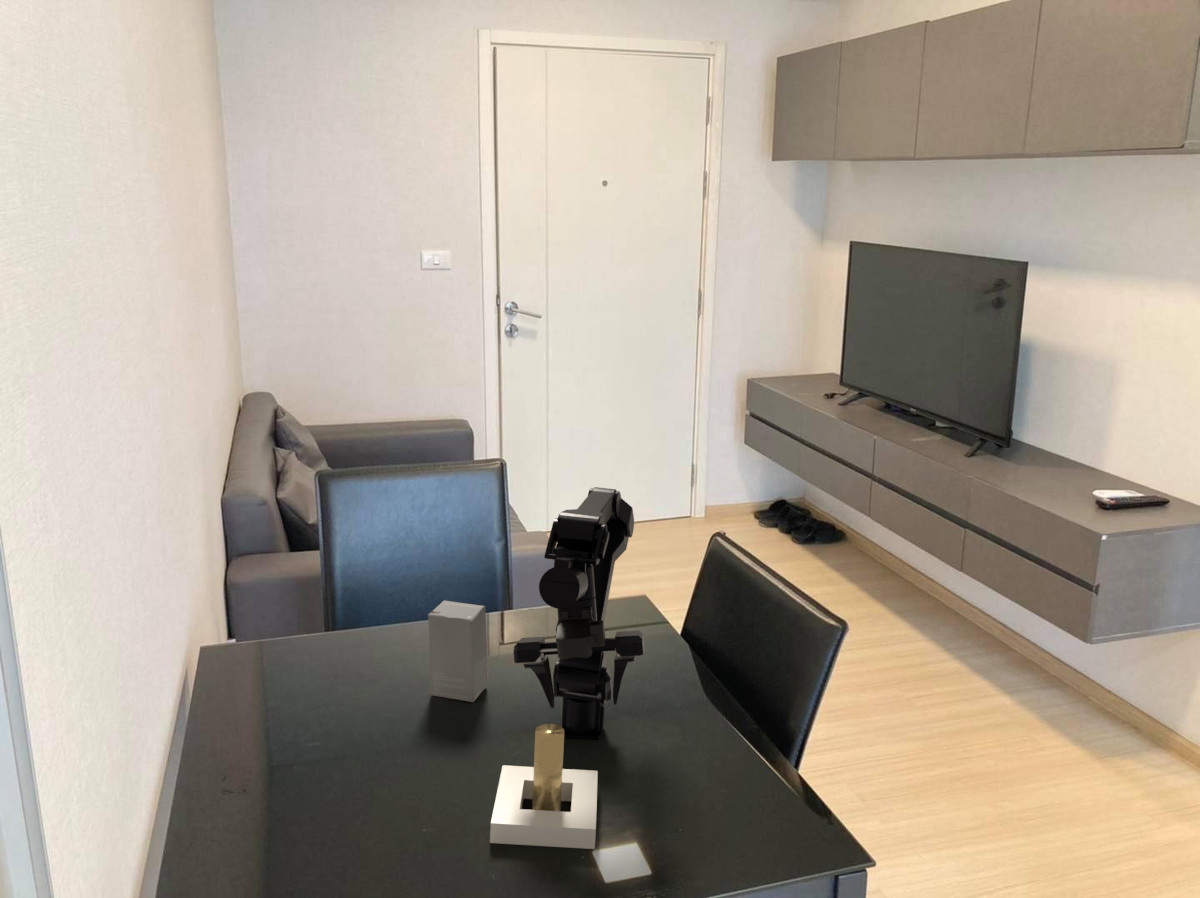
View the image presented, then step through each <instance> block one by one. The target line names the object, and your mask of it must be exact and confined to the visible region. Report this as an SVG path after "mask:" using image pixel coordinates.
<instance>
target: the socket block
mask: <svg viewBox="0 0 1200 898" xmlns="http://www.w3.org/2000/svg"><path fill="white" fill-rule="evenodd" d="M598 773H599V772H598V770H592V769H591V770H589V769H588V770H587V769H575V768H572V769H571V768H570V769H569V768H568V769H567V768H563V771H562V791H561V802H571V805H570V811H544V810H532V809H527V808H526V809H524V808H523V803H524V800H525V799H526V800H533V776H534V766H521V765H520V766H519V765H505V764H504V765H502V766H501V772H500V776H499V780H498V785H497V791H496V795H495V801H494V806H493V810H492V815H491V820H490V829H489V830H490V832H489V833H490V834H489V843H490V844H503V845H515V846H516V845H518V846H519V845H520V846H535V847H553V848H555V847H556V848H569V849H584V850H585V849H587V850H595V848H596V834H597V831H596V830H597V811H598V810H597V809H598V808H597V805H598V804H597V803H598V802H597V801H598V777H599V775H598Z"/></svg>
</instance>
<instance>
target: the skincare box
mask: <svg viewBox="0 0 1200 898" xmlns="http://www.w3.org/2000/svg"><path fill="white" fill-rule="evenodd" d="M486 614H487V613H486V606H485V605H481V604H479V605H478V604H473V603H472V604H471V603H464V602H457V601H452V600H451V601H450V600H443V601H442V602H441V603H440V604H439V605H437V606H435V608H434V609H433V610H432V611H430V612H429V613H428V614H427V617H428V619H427V620H428V638H429V640H428V641H429V643H428V644H429V662H430V663H429V664H430V665H429V666H430V667H429V668H430V669H429V670H430V693H431V694H430V695H431V696H433V697H438V698H439V697H440V698H445V699H452V700H456V701H457V700H458V701H462V702H463V701H465V702H470V703H474V702H475V701H476V700H477V698H479V697H480V695H481V694H482V693H483V692H484V690H485V689H486V688H487V686H488V659H487V657H488V655H487V621H486V616H487V615H486Z"/></svg>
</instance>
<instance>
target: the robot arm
mask: <svg viewBox="0 0 1200 898" xmlns="http://www.w3.org/2000/svg"><path fill="white" fill-rule="evenodd" d="M634 528H635V517H634V509H633V507H632V506H631V505H630V504H629V503H627V502H626V501H625V500H624V499H623V498H622V495H621V492H620V491H619V490H617V489H616V488H605V487H597V486H595V487H590V488H589V490H588V493H587V496H586V498H585V499H584V500H583V501H582V503H581V504H580V505H579V506H578V507H577V508H576V509H575V508H573V509H565V510H563V511H561V512H560V513H559V514H558V516H557V517H556V518H554V519H553V522H552V525H551V529H550V533H549V536H548V537H549V538H548V541H547V544H546V549H545V551H544V552H545V553H544V559H547V560H551V561H554V563H553V567H551V568H550V569H547V570H546V571H545V572H544V573H543V575H542V576H541V578H540V580H539V583H538V591H539V595H540V597H541V600H542V601H544V603H545V604H546V605H547V606H549V607H551V608H554V609H557V610H556V611H557V623H556V627H555V641H546V639H545V636H532V637H521V638H520V639H519V640H518V641H517V642H516V643H515V645H514V646H513V661H514V663H515V664H523V668H525V669H530V670H531V671H532V672H533V673H534V675H535V676H536V678H537V680H538V681H539V683H540V686H541V687H542V690H543V693H544V694H545V697H546V699H547V702H548V704H549V706H550V709H554V708H555V698H562V701H561V703H562V705H561V707H562V708H561V717H560V718H561V721H560V726H561V727H562V728H563V729H564V738H573V739H575V738H576V739H591V740H600V738H601V731H603V730H604V721H605V720H604V718H605V706H606V705H605V704H606V701H610V700H613V705H617V704H618V700H619V694H620V690H621V684H622V682H623V676H624V673H625V671H626V668H627V666H628V663H632V662H635V661H636V657H638V656H644V654H645V653H644V652H645V640H644V639H645V638H644V633H642V632H641V630H626V631H625V630H623V631H616V633H615V635H614V637H607V638H606V629H605V619H606V614H607V607H608V602H609V598H610V597H609V596H610V591H611V585H612V580H613V574H614V568H615V564H616V561H617V560H618V559H619V558H620V557H621V556H622V555H623V554H624V553H625V552H626V550H627V549H628V543H629V539H630V538H632V537H633V534H634ZM612 651H613V652H614V651H615V657H614V659H613V662H614V664H613V666H614V667H613V684H612V677H611V673H610V670H609V667H607V663H608V662H607V661H608V660H607V658H606V656H605V653H604V652H612ZM550 655H552V656H553V655H557V657H558V659H559V660H557V661H556V662H555V664H554V668H553V677H552V673H551V667H550V658H549V656H550ZM552 678H553V679H552Z"/></svg>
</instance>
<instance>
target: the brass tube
mask: <svg viewBox="0 0 1200 898" xmlns="http://www.w3.org/2000/svg"><path fill="white" fill-rule="evenodd" d="M534 730H535V733H534V755H533V758H534V759H533V767H534V776H533V799H531V800H532V803H531V804H532V805H531V806H532V807H531V810H544V811H561V808H562V801H561V791H562V771H563V769H564V768H563V767H564V745H565V737H564V729H563V728H562V727H561V725H559V724H556V723H543V724H540V725H538V726H536V728H535V729H534ZM561 812H562V811H561Z"/></svg>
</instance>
